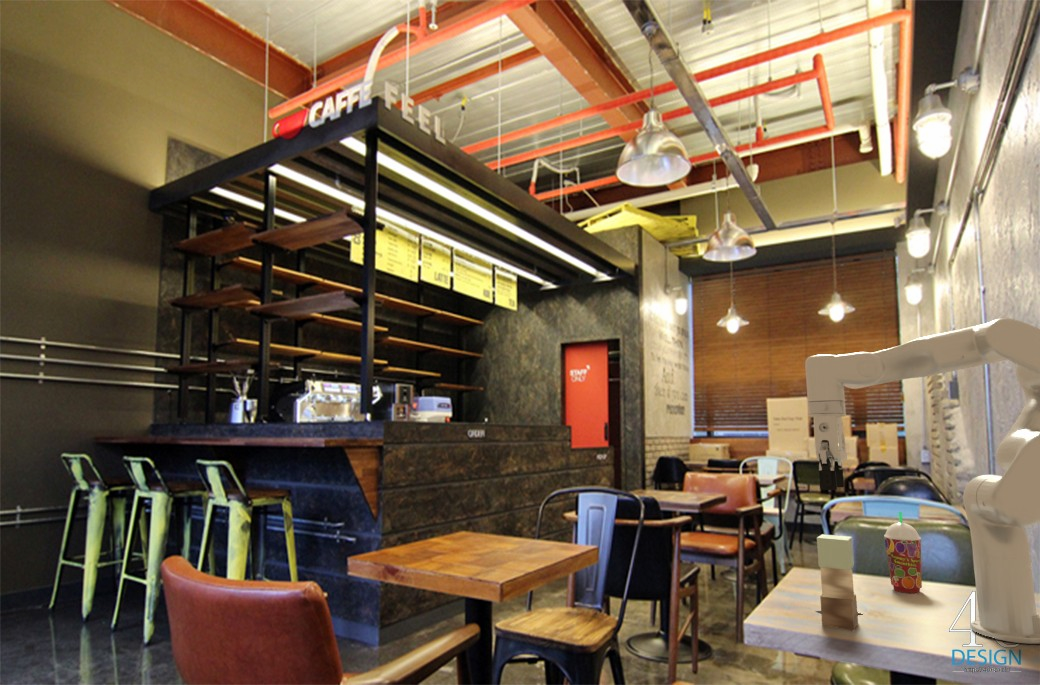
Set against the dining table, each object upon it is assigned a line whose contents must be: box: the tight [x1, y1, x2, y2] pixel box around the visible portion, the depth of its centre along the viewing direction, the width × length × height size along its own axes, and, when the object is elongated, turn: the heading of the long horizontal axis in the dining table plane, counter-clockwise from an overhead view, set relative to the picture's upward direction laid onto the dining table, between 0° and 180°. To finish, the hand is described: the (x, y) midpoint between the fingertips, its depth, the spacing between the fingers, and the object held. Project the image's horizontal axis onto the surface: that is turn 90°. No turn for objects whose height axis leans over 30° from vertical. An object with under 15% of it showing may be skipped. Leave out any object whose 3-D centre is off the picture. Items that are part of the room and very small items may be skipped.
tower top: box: [819, 567, 855, 600], centre depth 136 cm, size 6×6×6 cm
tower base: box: [820, 593, 859, 631], centre depth 135 cm, size 6×6×6 cm
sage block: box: [816, 533, 855, 570], centre depth 137 cm, size 6×6×6 cm
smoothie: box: [883, 511, 923, 594], centre depth 166 cm, size 8×8×20 cm
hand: (832, 488), depth 139 cm, fingers open, 9 cm apart
